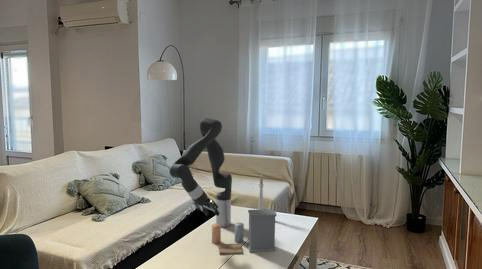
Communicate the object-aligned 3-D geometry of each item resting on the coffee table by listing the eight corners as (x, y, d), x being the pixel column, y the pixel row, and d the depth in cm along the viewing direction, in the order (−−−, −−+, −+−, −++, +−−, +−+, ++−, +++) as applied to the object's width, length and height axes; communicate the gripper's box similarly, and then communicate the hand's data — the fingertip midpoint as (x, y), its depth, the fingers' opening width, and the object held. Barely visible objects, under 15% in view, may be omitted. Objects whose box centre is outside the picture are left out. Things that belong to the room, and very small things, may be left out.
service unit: (247, 245, 189) (248, 209, 186) (272, 244, 190) (273, 209, 188) (249, 252, 181) (250, 215, 178) (275, 251, 182) (276, 214, 180)
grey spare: (234, 239, 196) (234, 222, 195) (242, 239, 197) (243, 222, 195) (235, 243, 191) (235, 226, 190) (243, 242, 192) (244, 225, 190)
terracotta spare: (211, 240, 194) (211, 223, 193) (220, 240, 195) (220, 223, 194) (212, 244, 189) (212, 227, 188) (220, 243, 190) (221, 226, 189)
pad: (218, 246, 187) (218, 244, 187) (240, 245, 189) (240, 243, 189) (219, 254, 178) (219, 252, 178) (242, 253, 179) (242, 251, 179)
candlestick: (264, 222, 222) (265, 177, 218) (247, 218, 229) (248, 174, 225) (273, 216, 233) (274, 173, 229) (257, 212, 240) (258, 171, 236)
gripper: (209, 188, 177) (225, 209, 183) (192, 188, 186) (207, 209, 193) (202, 199, 172) (218, 220, 179) (184, 199, 181) (200, 219, 188)
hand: (212, 214), depth 186 cm, fingers open, 8 cm apart
